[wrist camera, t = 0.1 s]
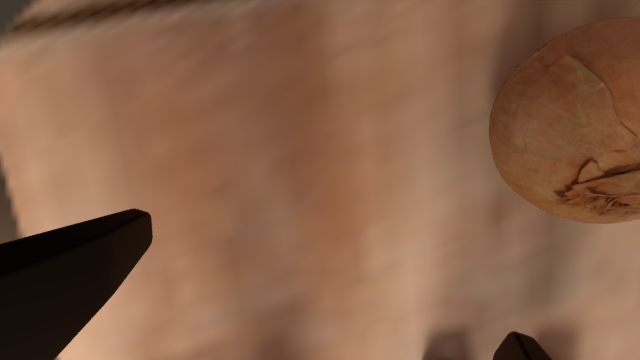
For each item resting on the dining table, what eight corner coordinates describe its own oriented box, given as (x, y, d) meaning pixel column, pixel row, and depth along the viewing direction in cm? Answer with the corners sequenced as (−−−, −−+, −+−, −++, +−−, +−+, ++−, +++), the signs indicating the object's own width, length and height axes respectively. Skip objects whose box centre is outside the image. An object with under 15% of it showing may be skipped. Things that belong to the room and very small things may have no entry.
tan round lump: (527, 173, 24) (574, 295, 16) (447, 80, 21) (459, 174, 14) (705, 90, 18) (904, 218, 10) (626, -53, 15) (816, -17, 8)
